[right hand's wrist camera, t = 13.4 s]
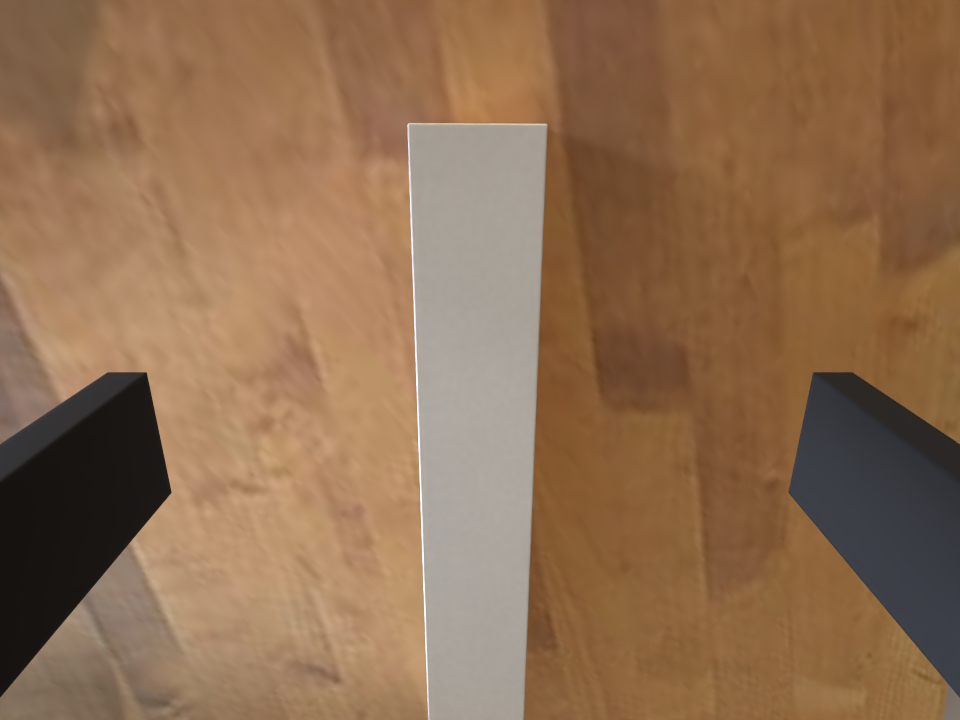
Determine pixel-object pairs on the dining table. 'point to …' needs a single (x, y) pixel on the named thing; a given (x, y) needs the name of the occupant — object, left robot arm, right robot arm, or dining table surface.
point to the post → (476, 402)
